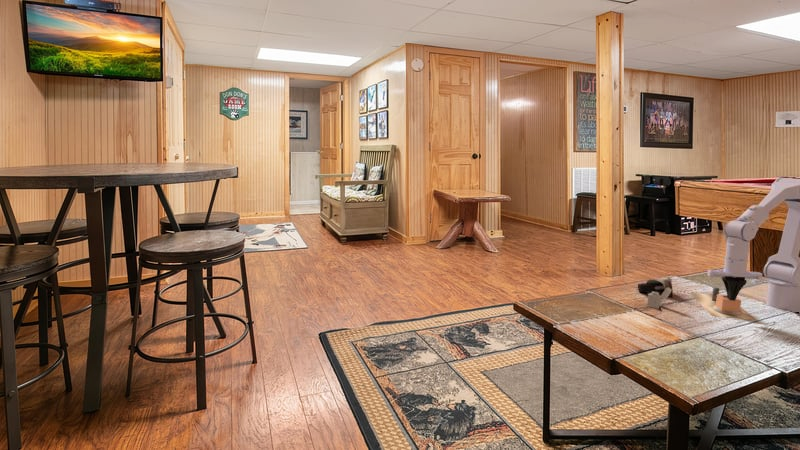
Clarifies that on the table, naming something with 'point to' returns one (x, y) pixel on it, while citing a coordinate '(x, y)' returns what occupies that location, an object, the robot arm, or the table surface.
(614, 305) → the table surface
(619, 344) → the table surface
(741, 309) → the board
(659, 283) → the caster wheel
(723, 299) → the collar
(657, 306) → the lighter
